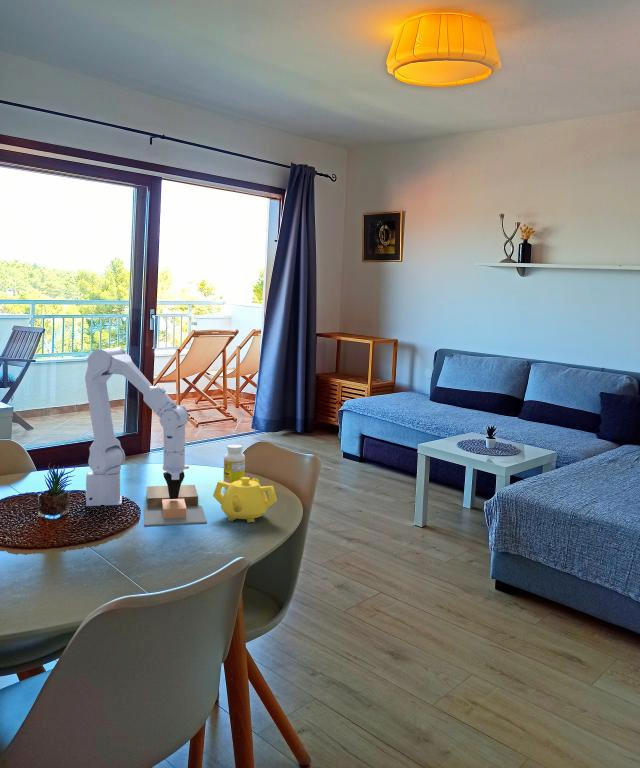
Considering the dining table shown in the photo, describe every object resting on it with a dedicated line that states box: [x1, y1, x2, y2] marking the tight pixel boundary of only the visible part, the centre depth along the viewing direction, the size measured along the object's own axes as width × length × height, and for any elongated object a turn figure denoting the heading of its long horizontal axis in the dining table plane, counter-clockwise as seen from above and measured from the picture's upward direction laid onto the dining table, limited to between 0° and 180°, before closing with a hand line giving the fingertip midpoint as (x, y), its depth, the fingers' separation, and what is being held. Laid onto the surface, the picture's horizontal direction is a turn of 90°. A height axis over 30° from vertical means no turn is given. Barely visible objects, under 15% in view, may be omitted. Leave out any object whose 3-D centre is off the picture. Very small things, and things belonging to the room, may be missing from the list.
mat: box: [143, 505, 208, 527], centre depth 188 cm, size 16×14×1 cm
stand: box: [146, 484, 199, 508], centre depth 200 cm, size 14×12×3 cm
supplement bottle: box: [223, 444, 246, 483], centre depth 218 cm, size 7×7×13 cm
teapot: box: [212, 476, 278, 523], centre depth 188 cm, size 20×18×11 cm
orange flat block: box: [162, 499, 186, 519], centre depth 189 cm, size 6×9×2 cm, turn 15°
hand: (173, 498), depth 192 cm, fingers closed
